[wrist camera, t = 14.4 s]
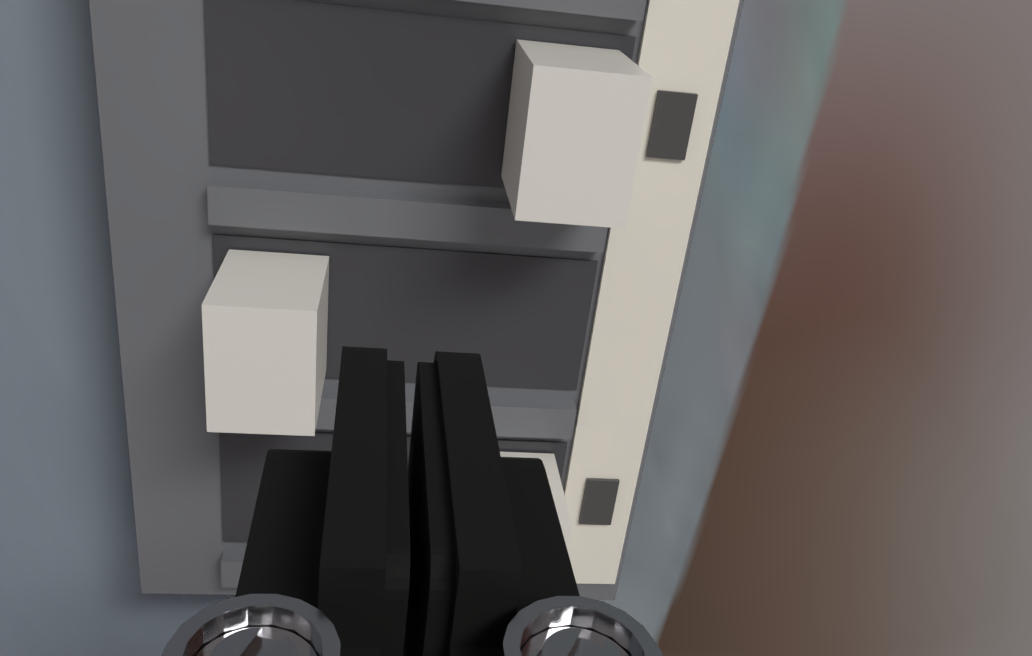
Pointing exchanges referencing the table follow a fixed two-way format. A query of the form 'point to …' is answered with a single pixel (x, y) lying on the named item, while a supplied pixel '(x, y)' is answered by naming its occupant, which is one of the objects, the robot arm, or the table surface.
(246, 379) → the tab middle
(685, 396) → the table surface
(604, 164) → the tab
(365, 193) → the switch bank
